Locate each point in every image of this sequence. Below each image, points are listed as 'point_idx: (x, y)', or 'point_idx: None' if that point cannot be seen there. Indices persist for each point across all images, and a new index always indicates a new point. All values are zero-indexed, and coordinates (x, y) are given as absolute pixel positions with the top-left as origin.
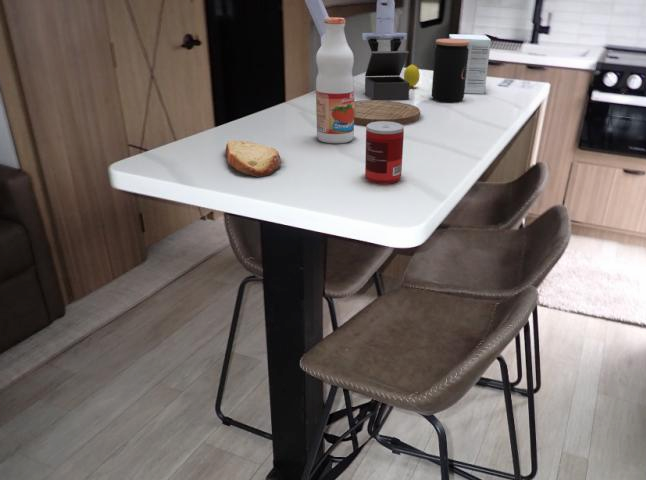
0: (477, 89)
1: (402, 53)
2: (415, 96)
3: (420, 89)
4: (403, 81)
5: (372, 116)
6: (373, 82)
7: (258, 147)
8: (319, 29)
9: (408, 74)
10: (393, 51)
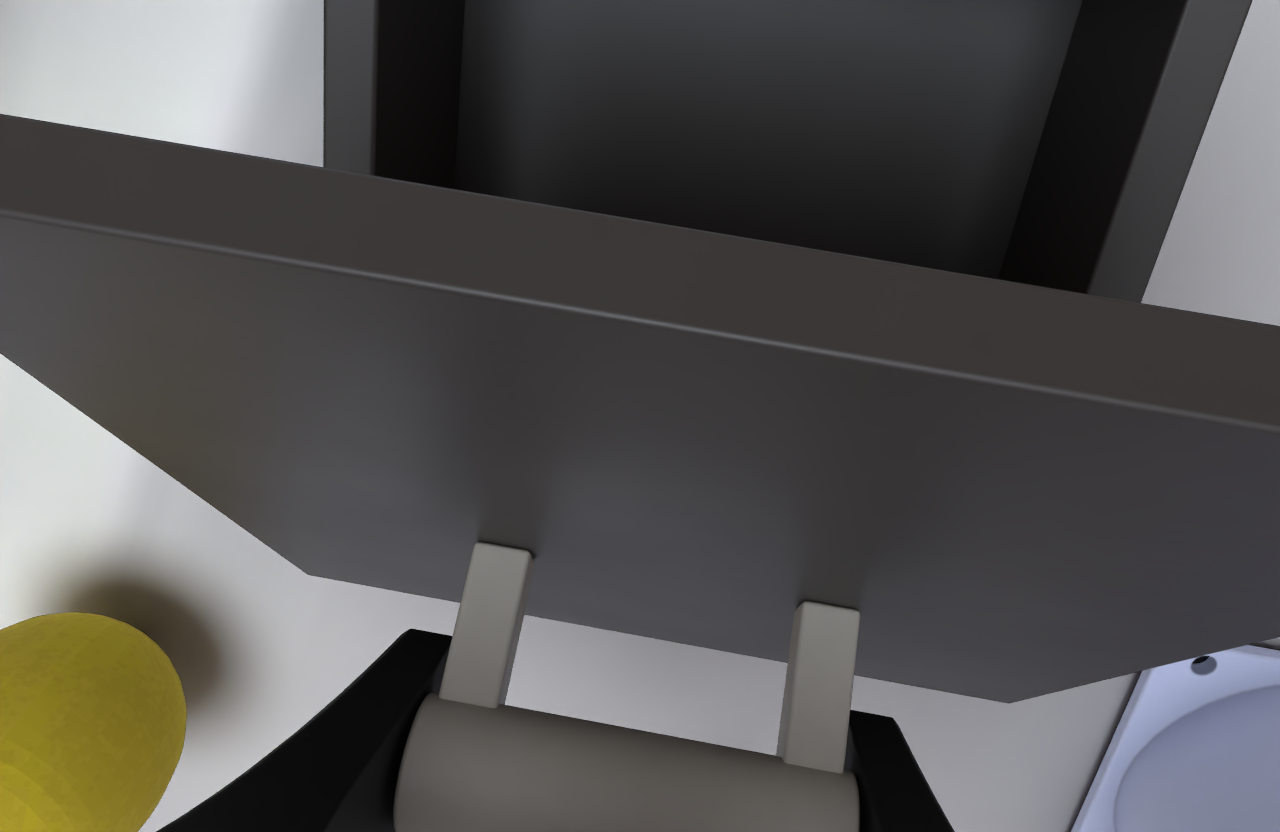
0: None
1: (122, 144)
2: (231, 75)
3: (31, 518)
4: (384, 111)
5: None
6: (1215, 39)
7: None
8: None
9: (90, 729)
10: (550, 290)
